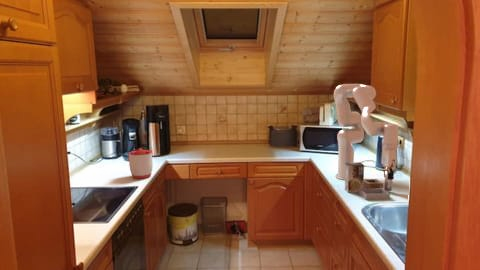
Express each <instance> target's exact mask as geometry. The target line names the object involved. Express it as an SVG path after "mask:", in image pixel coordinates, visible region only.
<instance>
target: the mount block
mask: <svg viewBox="0 0 480 270" xmlns="http://www.w3.org/2000/svg"><path fill="white" fill-rule="evenodd" d="M374 188H383V189H384V183H383V182H382V181H380V180H379V179H377V178H364V188H363V189H374Z"/></svg>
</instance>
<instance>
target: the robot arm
mask: <svg viewBox="0 0 480 270" xmlns="http://www.w3.org/2000/svg"><path fill="white" fill-rule="evenodd" d="M376 96H377V91H376V89H375V88H374V86H372V85H367V84H362V83H343V84H339V85H337V86H336V87H335V89H334V90H333V100H334V103H335V107H336V108H335V109H336V115H337V116H336V118H337V122H338V126H339V127H342V128H344V129H341V130H339V131H338V133H337V134H336V135H337V137H336V139H337V145H338V151H337V153H338V160H337V162H338V163H337V174H335V178H336V179H339V180H344V181H345V163H355V162H354V161H355V150H354V148H353V146H352V144H358V143H359V144H360V143H361V142H362V141H364V138H365V133H366V134H367V135H369V136H370V137H378V136H381V137H382V151H381V160H380V161H381V162H380V163H381V165H382V166H383V177H384V178H385V167H388V171H389V172H388V180H392V181H393V180H394V177H395V171H396V169H397V165H398V164H397V162H398V161H397V160H398V154H397V153H398V152H397V150H398V142H399V141H398V140H399V125H398V124H396V123H389V122H386V121H382V122H381V121H379V122H377V121H376V122H373V120H372V119H371V117H370V113H373V111H374V110H375V109H376V104H375V102H374V99H375V97H376ZM348 98H349V99H350V98H353V99H354V101H355V102H356V104H357V105H358V108H359V109H360V111H361V114H360V112H358V111H351V104H350V102H349V100H348ZM348 127H351V128H348ZM345 128H346V129H345ZM390 168H392V169H391V170H390Z"/></svg>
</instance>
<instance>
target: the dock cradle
mask: <svg viewBox="0 0 480 270" xmlns="http://www.w3.org/2000/svg"><path fill="white" fill-rule="evenodd" d="M358 194H359V196H361V197H362V198H363V199H364V200H366V201H370V200H371V201H375V200H381V201H382V200H390V199H391V193H390V192H389V191H385V190H384V187H383V188H374V189H359V192H358Z"/></svg>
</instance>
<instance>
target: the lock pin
mask: <svg viewBox="0 0 480 270" xmlns="http://www.w3.org/2000/svg"><path fill="white" fill-rule="evenodd" d="M391 169H392V168H390V170H391ZM388 172H389V171H388V167H385V177H384V186H383V189H384V190H385V191H387V192H391V191H392V190H393V180H388Z"/></svg>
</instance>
